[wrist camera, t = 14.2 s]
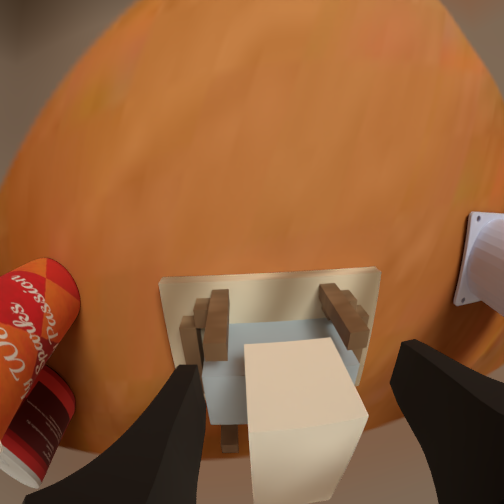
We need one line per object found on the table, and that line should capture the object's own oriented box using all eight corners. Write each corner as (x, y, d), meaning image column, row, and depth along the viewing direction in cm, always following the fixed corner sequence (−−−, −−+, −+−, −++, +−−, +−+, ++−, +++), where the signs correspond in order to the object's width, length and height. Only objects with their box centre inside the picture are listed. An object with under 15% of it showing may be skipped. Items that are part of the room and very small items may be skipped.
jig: (374, 266, 18) (427, 311, 12) (354, 377, 21) (382, 434, 15) (162, 277, 18) (129, 333, 11) (184, 390, 21) (173, 454, 14)
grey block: (333, 317, 18) (359, 364, 13) (326, 363, 19) (346, 412, 14) (209, 324, 18) (201, 376, 13) (214, 371, 19) (210, 424, 14)
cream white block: (313, 435, 15) (329, 499, 10) (249, 442, 15) (254, 508, 10) (330, 337, 13) (368, 415, 8) (243, 344, 12) (248, 432, 8)
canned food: (16, 381, 21) (-28, 445, 10) (23, 342, 19) (-38, 416, 9) (69, 422, 22) (36, 494, 12) (86, 391, 21) (43, 481, 10)
